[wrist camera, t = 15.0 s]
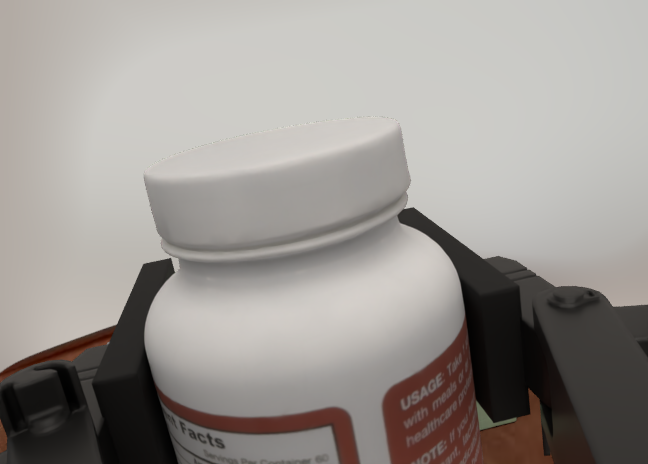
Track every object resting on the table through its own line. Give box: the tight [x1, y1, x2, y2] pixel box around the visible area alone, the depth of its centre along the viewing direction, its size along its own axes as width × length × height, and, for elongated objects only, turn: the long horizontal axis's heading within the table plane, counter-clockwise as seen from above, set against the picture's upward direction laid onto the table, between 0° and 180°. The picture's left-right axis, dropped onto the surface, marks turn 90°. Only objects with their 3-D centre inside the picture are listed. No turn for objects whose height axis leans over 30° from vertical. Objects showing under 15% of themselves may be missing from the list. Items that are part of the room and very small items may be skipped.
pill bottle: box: [144, 117, 484, 464], centre depth 12 cm, size 6×6×11 cm
